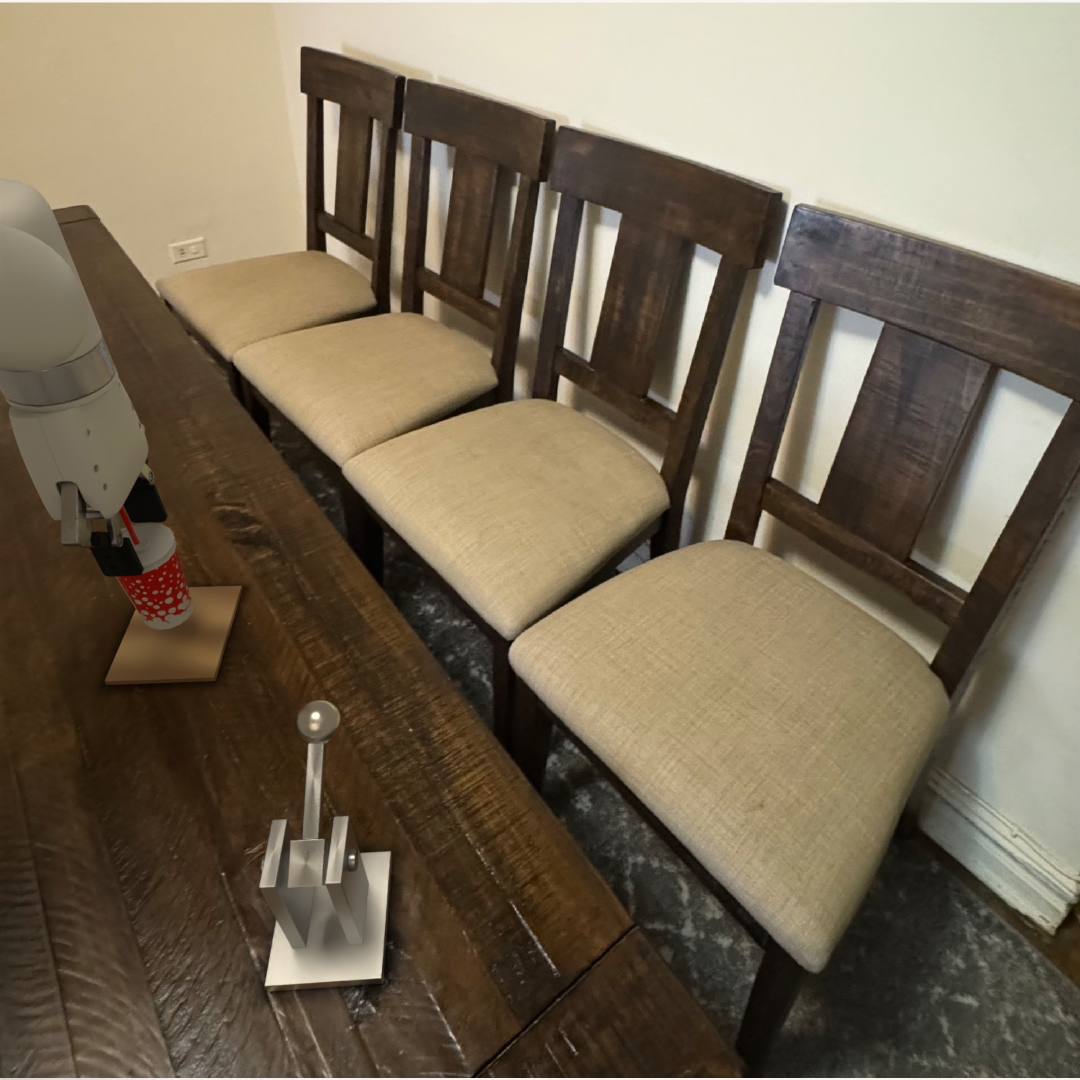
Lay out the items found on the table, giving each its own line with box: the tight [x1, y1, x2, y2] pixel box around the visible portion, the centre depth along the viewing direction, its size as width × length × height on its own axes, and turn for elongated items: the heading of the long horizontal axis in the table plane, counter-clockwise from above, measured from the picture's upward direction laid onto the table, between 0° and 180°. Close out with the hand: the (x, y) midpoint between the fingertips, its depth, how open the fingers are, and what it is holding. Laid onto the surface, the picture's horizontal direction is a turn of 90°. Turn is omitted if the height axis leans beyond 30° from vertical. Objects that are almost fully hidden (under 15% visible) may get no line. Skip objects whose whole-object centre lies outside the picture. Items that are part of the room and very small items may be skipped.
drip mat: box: [104, 585, 244, 686], centre depth 75 cm, size 12×10×1 cm
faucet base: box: [258, 815, 393, 992], centre depth 51 cm, size 9×8×12 cm
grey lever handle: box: [287, 699, 343, 888], centre depth 50 cm, size 12×3×3 cm, turn 4°
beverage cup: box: [115, 506, 194, 630], centre depth 68 cm, size 6×6×14 cm
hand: (137, 544), depth 66 cm, fingers closed on beverage cup, 6 cm apart
